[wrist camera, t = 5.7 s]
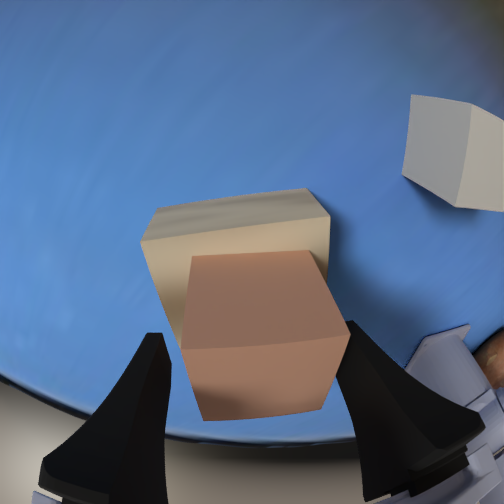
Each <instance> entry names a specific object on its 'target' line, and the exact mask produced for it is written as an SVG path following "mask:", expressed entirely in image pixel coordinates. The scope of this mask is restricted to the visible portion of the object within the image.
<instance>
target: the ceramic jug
mask: <svg viewBox="0 0 504 504" xmlns="http://www.w3.org/2000/svg"><path fill="white" fill-rule="evenodd" d="M473 357H474V359H475V360H476V362H477V363H478V365H479V367H480V368H481V370H482V371H483V373H484V374H485V376H486V378H487V379H488V381H489V383H490V384H491V386H492V388H493V389H496V390H497V389H498V388H499V387H502V388H503V387H504V330H502V331H500V332H499V333H497V334H496V335H494V336H493V337H491V338H490V339H489V340H488V341H487V342H485V343H484V344H483V345H482V346H481V347H480V348H479V349H478V350H477V351H476V352H475V354H474V355H473Z"/></svg>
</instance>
